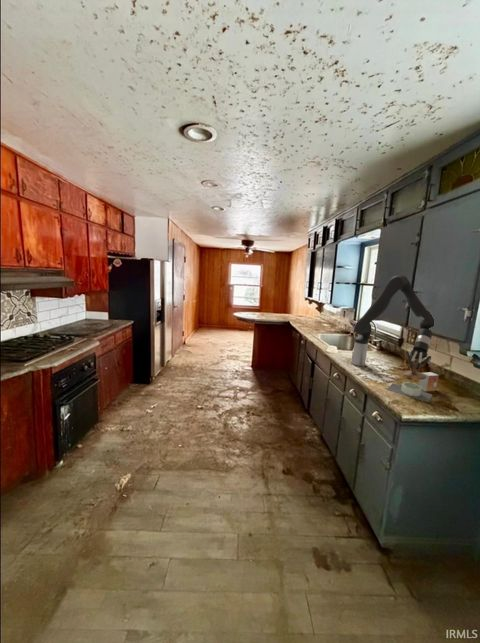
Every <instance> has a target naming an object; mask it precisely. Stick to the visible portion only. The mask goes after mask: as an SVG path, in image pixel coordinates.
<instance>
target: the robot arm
mask: <svg viewBox="0 0 480 643" xmlns="http://www.w3.org/2000/svg"><path fill="white" fill-rule="evenodd" d="M398 291H401V292H402V293H403V295H404V296H405V298H406V301H407V304H408V307H409V308H410V311H412V313H413V314H414V315H415V317H416V318H420V317H422V318H423V319H422V320H421V321H420V322H419V325H418V333H417V337H416V339H415V342H414V344H413V347H412V350H410V351H406V352H405V354H406V359H407V361H408V362H409V363H410V364H409V368H410V369H411V370H412V367H413V362H416V360H418V365H417V367H416V370H417V371H419V370H420V369H421V366H422V365H423V366H425V365H426V364H427V363H429V362H430V361H431V360H432V355H429V354H428V351H429V349H430V347H431V346H430V345H431V340H432V336H433V332H432V330H431V329H430V330H429V328H431V327H433V326H434V319H433V317H432V315H431V314H430V313H431V312H430V311H429V310H428V309H427V308H426V307H425V305H424V304H423V302H422V301H421V300H420V298H419V297H418V295H417V294H416V292H415V290H414V289H413V287H412V285H411V282H410V280H409V278H408V277H407V276H406V275H403V274H399V275H395V276H393V277H391V278H390V279H389V281H388V282H387V284H386V285H385V287H384V289H383V290H382V292H380V294H378V297H377V298H376V299H375V300H374V301H373V302H372V304H371V305H370V307H369V308H368V309H367V311H366V312H364V315H362V317H360V319H358V320H357V322H356V323H355V325H354V327H353V330H354V333H356V334H357V336H356V337H355V338H354V346H353V351H352V355H351V361H350V364H352V365H354V366H359V367H365V366H366V360H367V355H368V354H367V352H368V348H369V347H368V346H369V341H370V339H371V334H372V322H373V321H374V320H376V319H377V318H379V317H380V316H381V315H382V314H383V313H384V312H386V310H387V309H388V307H389V306H390V302H391V300H392V298H393V297H394V295H396V293H398ZM411 355H412V358H411V357H410V356H411ZM423 359H424V360H423Z"/></svg>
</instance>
